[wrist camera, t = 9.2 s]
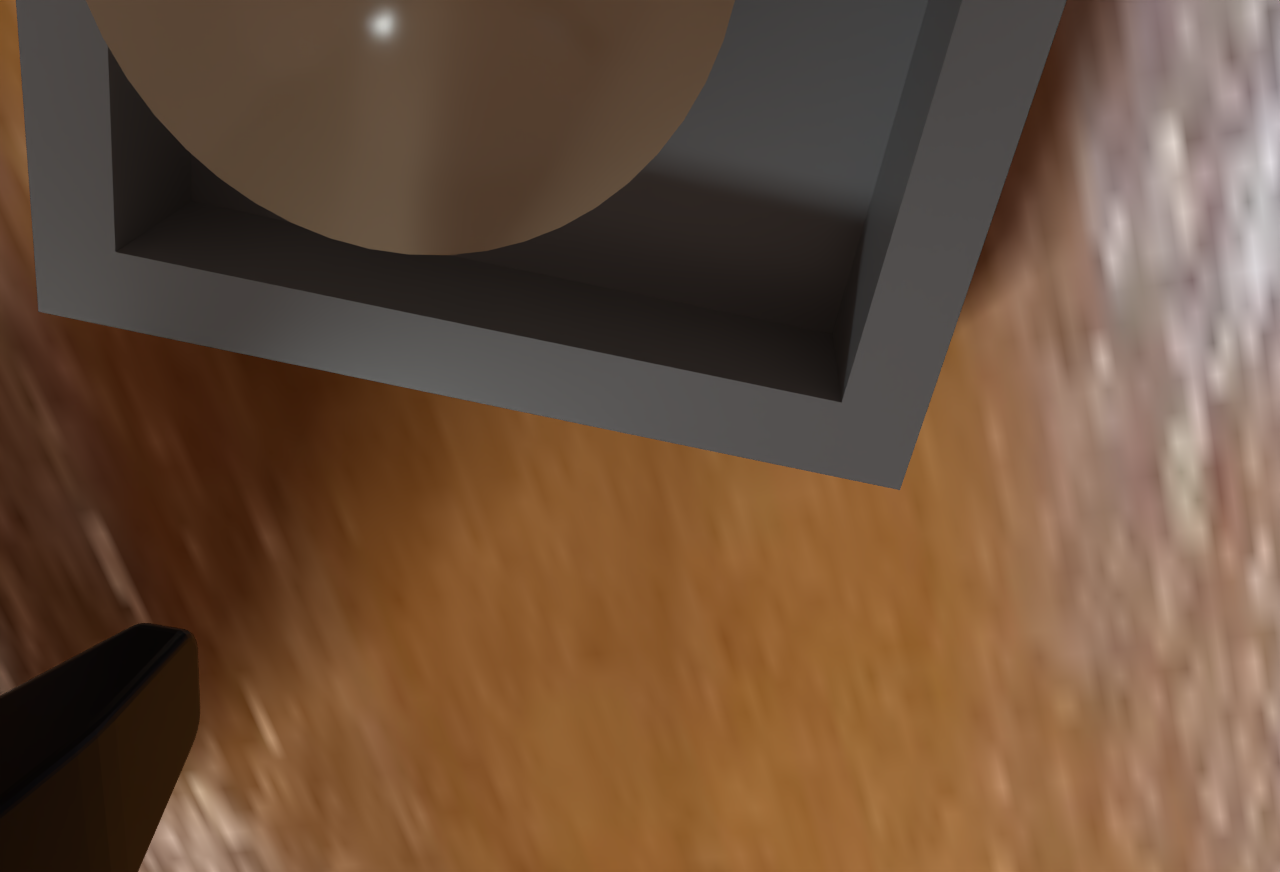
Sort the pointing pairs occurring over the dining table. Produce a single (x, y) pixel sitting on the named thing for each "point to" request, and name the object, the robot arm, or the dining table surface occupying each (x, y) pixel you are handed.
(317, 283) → the serving tray
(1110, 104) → the dining table surface
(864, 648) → the dining table surface
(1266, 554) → the dining table surface
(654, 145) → the cream jar
